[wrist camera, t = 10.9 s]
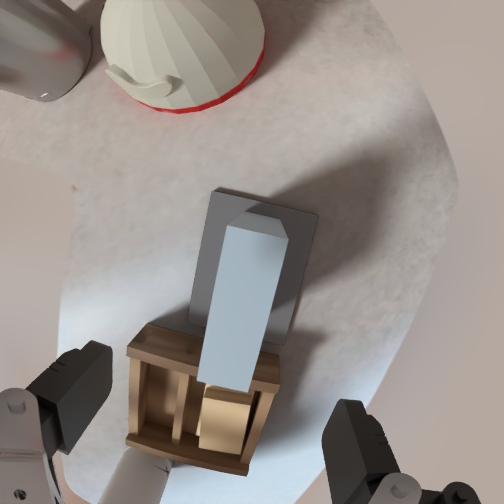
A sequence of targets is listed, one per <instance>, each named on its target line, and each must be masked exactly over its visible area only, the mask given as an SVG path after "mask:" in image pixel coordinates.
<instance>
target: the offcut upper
mask: <svg viewBox="0 0 504 504" xmlns="http://www.w3.org/2000/svg"><path fill="white" fill-rule="evenodd" d="M251 396H252V395H247V394H240V393H234V392H228V391H222V390H217V389H211V388H206V391H205V394H204V397H203V406H202V416H201V427H200V438H199V448H203V449H209V450H214V451H220V452H226V453H232V454H239V455H240V453H241V449H242V444H243V439H244V435H245V430H246V425H247V421H248V416H249V411H250V406H251Z"/></svg>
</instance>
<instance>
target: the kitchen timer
mask: <svg viewBox="0 0 504 504" xmlns="http://www.w3.org/2000/svg"><path fill="white" fill-rule="evenodd" d="M101 44H102V48H103V51H104V54H105V56H106V59H107V61H108V64H109V67H108V68H107V69H106V70H105V72H106V73H107V74H108V75H109V76H110V77H111V78H112V79H113V80H114V81H115V82H116V83H117V84H118V85H119V86H121V87H122V88H123V89H124V90H126V91H127V92H128V93H129V94H130V95H131V96H132V97H133V98H134V99H135V100H137V101H138V102H140V103H142V104H144V105H146V106H148V107H150V108H153V109H155V110H157V111H161V112H169V113H176V114H181V113H189V112H197V111H202V110H205V109H207V108H210V107H212V106H215V105H218V104H220V103H223V102H224V101H226V100H227V99H228V98H230V97H231V96H233V95H234V94H236V93H237V92H239V91H240V90H241V89H242V88H243V87H244V86H245V85H246V84H247V83H248V81H249V80H250V79H251V78H252V77H253V76H254V75H255V73H256V71H257V69H258V67H259V64H260V62H261V60H262V58H263V55H264V45H265V28H264V25H263V21H262V18H261V14H260V11H259V8H258V6H257V4H256V3H255V1H254V0H106V2H105V5H104V6H103V12H102V16H101Z"/></svg>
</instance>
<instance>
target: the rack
mask: <svg viewBox="0 0 504 504" xmlns="http://www.w3.org/2000/svg"><path fill="white" fill-rule="evenodd" d="M203 343H204V339H202V338H198V337H195V336H191V335H187V334H183V333H180V332H176V331H172V330H169V329H165V328H162V327H158V326H155V325H151V324H148V323H147V324H146V325H145V326H144V327H143V328H142V329H141V331H140V332H139V333H138V334H137V335H136V336H135V337H134V339H133V340H132V341H131V342H130V343H129V344H128V345H127V354H126V356H128V357H130V376H129V434H128V436H127V438H126V445H128V446H130V447H133V448H136V449H139V450H142V451H145V452H148V453H151V454H154V455H157V456H161V457H164V458H167V459H171V460H174V461H178V462H182V463H185V464H189V465H193V466H197V467H201V468H206V469H210V470H215V471H219V472H224V473H229V474H235V475H240V476H247V474H248V471H249V464H250V461H251V458H252V456H253V453H254V451H255V448H256V445H257V443H258V440H259V437H260V434H261V432H262V429H263V426H264V423H265V421H266V418H267V415H268V412H269V409H270V407H271V404H272V401H273V398H274V395H275V394H277V393H278V391H279V388H280V368H279V356H277V355H272V354H268V353H263V352H259V355H258V358H257V362H256V366H255V369H254V373H253V376H252V380H251V383H250V387H249V389H251V390H255V393H254V396H253V400H252V403H251V406H250V411H249V416H248V421H247V425H246V430H245V435H244V439H243V444H242V449H241V453H240V455H239V454H232V453H226V452H220V451H214V450H209V449H203V448H199V438H200V436H197V435H196V432H197V427H198V422H199V417H200V412H201V406H202V401H203V396H204V391H205V386H206V383H204V382H200V381H197V375H198V370H199V364H200V359H201V353H202V348H203Z"/></svg>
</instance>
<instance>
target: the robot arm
mask: <svg viewBox="0 0 504 504" xmlns="http://www.w3.org/2000/svg"><path fill="white" fill-rule="evenodd" d="M90 29H91V24H89V23H88V22H87V21H86V20H85V19H83V18H82V17H81V16H80V15H78V14H77V13H76V12H75V11H74V10H72V9H71V8H70V7H69V6H67V5H66V4H65V3H64V2H62V1H61V0H0V89H1V90H5V91H8V92H11V93H15V94H18V95H21V96H24V97H27V98H30V99H34V100H37V101H42V102H48V101H53V100H55V99H58V98H59V97H61V96H62V95H64V94H65V93H67V92H68V91H69V90H70V89H71V88H72V87H73V86H74V85H75V84H76V83H77V81H78V80H79V79H80V77H81V76H82V74H83V73H84V71H85V69H86V67H87V65H88V62H89V59H90V56H91V50H92V41H91V38H90V35H89V32H90ZM112 357H113V352H112V348H111V347H110V346H107V345H104V344H101V343H99V342H96V341H93V340H91V341H90V342H88V343H87V344H86V345H85V346H84V347H83V348H82V349H81V350H79V349H76V348H75V349H73V350H70V351H68V352H65V353H63V354H62V355H61V356H60V357H59V358H58V359H57V360H56V362H53V363H52V364H51V365H50V366H49V368H47V369H46V370H45V371H44V372H43V373H41V374H40V375H39V376H38V377H37V378H36V379H35V380H34V381H33V382H32V383H31V384H30V385H29V386H28V387H27V388H26V389H21V388H10V389H6V390H4V391H2V392H1V393H0V504H64V501H63V497H62V493H61V490H60V486H59V482H58V478H57V474H56V470H55V465H54V461H53V457H52V456H53V455H54V454H55V452H56V451H57V450H58V451H60V452H62V453H64V454H66V455H69V453H70V452H71V450H72V449H73V447H74V446H75V444H76V443H77V441H78V440H79V438H80V437H81V435H82V434H83V432H84V431H85V429H86V428H87V426H88V425H89V424H90V422H91V421H92V419H93V418H94V416H95V415H96V413H97V412H98V411H99V409H100V408H101V406H102V405H103V403H104V402H105V400H106V399H107V398H108V396H109V394H110V391H111V388H112ZM322 449H323V454H324V460H325V465H326V471H327V476H328V482H329V487H330V492H331V499H332V504H481V503H480V501H479V498H478V496H477V494H476V492H475V491H474V490H473V488H472V487H470V486H469V485H467V484H465V483H462V482H453V483H450V484H448V485H447V486H446V487H445V488H444V489H443V491H442V492H439V491H431V490H424V489H421V487H420V485H419V483H418V482H417V481H416V480H415V479H414V478H413V477H411V476H409V475H407V474H404V473H401V472H400V469H399V467H398V464H397V462H396V459H395V457H394V455H393V452H392V450H391V447H390V445H388V441H387V438H386V437H385V433H384V431H383V429H382V426H381V424H380V423H379V422H378V421H377V420H376V419H375V418H374V417H373V416H372V415H367V413H366V411H365V408H364V406H363V403H362V402H361V401H358V400H348V399H340V400H339V401H338V402H337V404H336V406H335V408H334V410H333V412H332V414H331V416H330V418H329V421H328V423H327V425H326V427H325V429H324V431H323V435H322Z"/></svg>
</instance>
